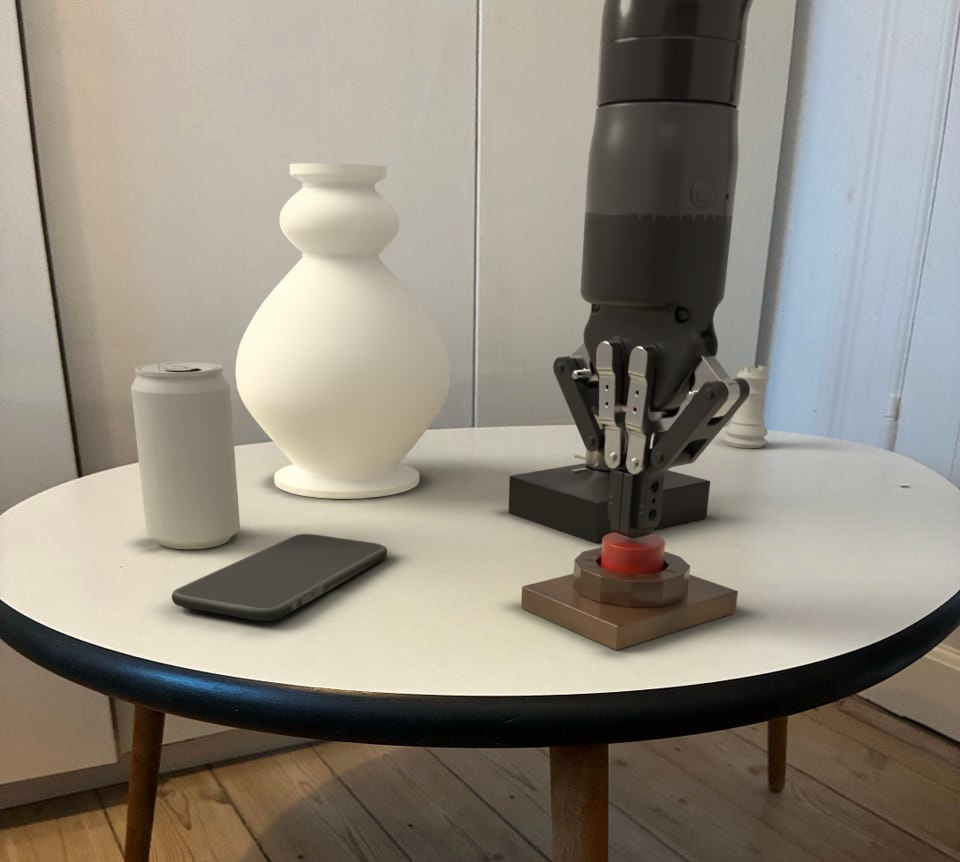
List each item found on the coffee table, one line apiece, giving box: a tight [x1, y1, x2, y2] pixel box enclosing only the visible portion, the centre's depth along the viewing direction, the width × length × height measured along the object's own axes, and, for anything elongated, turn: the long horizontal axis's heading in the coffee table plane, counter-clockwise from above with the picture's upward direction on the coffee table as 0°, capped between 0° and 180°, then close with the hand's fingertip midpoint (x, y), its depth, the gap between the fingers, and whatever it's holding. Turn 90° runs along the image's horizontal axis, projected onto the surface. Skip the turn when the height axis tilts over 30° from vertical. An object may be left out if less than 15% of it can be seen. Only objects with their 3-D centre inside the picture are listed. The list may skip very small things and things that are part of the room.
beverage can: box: [130, 361, 241, 550], centre depth 70 cm, size 6×6×12 cm
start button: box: [601, 532, 666, 574], centre depth 59 cm, size 4×4×2 cm
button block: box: [520, 546, 739, 651], centre depth 60 cm, size 10×8×3 cm
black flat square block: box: [508, 454, 711, 544], centre depth 81 cm, size 13×12×3 cm
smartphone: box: [171, 533, 388, 622], centre depth 64 cm, size 7×1×15 cm
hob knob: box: [585, 405, 630, 471], centre depth 82 cm, size 4×4×5 cm
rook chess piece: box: [723, 364, 770, 449], centre depth 106 cm, size 4×4×8 cm
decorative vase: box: [235, 162, 451, 500], centre depth 85 cm, size 18×18×25 cm
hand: (631, 533), depth 59 cm, fingers closed
